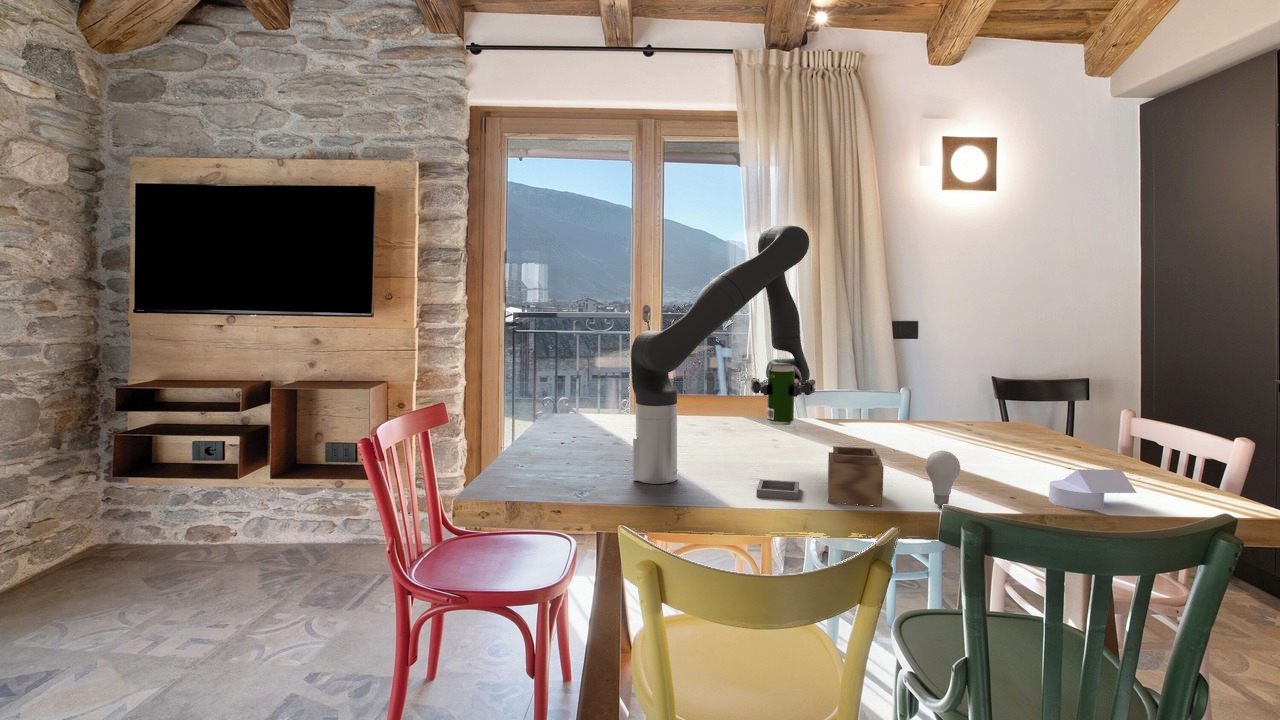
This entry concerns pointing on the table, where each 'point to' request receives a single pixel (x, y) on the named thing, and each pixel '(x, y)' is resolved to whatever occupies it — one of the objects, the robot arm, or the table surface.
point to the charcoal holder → (778, 493)
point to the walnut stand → (855, 476)
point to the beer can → (780, 394)
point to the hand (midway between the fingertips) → (780, 391)
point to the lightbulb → (942, 474)
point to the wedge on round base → (1088, 488)
